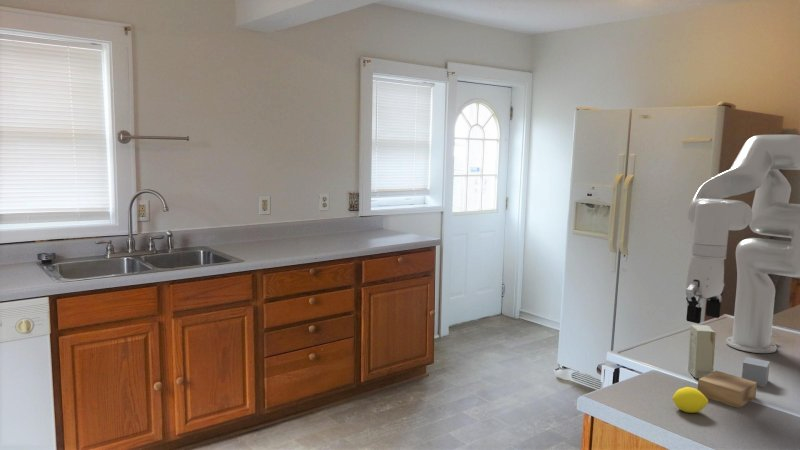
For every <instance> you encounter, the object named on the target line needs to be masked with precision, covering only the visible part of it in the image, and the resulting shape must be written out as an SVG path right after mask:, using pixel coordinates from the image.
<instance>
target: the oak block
mask: <svg viewBox="0 0 800 450" xmlns="http://www.w3.org/2000/svg"><path fill="white" fill-rule="evenodd" d="M697 379H698V382H697V390H699V391H700V392H701V393H702V394H703V395H704V396H705V397H706V398H707V399H709V400H713V401H715V402H718V403H719V402H720V403H722V404H725V405H727V406H732V407H734V408H737V409H740V408H741V407H743V406H744V405H746V404H748V403H750V402H751V401H753V400H754V399H756V398H757V397H756V396H757V388H758V387H757V386H758V385H757V382H754V381H751V380H747V379H744V378H742V377H739V376H736V375H733V374H729V373H725V372H724V371H719V370H713V372H712V373H710V374H708V375H706V376H704V377H702V378H697ZM755 397H756V398H755Z"/></svg>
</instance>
